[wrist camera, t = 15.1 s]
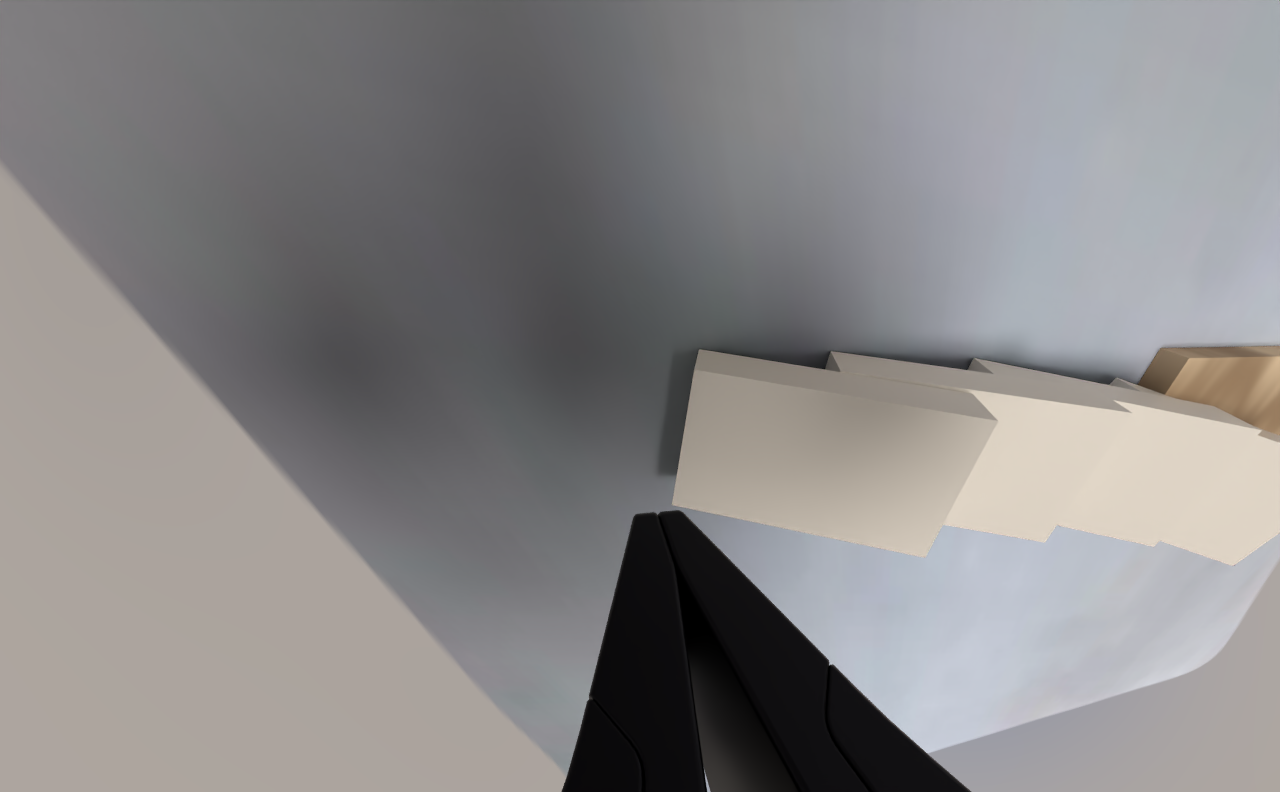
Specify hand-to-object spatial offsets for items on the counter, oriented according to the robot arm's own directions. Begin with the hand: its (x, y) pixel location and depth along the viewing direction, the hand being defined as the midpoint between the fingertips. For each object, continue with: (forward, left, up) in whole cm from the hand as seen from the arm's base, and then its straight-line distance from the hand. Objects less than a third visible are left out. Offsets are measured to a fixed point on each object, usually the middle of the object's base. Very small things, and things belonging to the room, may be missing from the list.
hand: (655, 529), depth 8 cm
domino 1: (+2, +2, -6) cm, 7 cm away
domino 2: (+2, +7, -6) cm, 10 cm away
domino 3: (+3, +12, -6) cm, 14 cm away
